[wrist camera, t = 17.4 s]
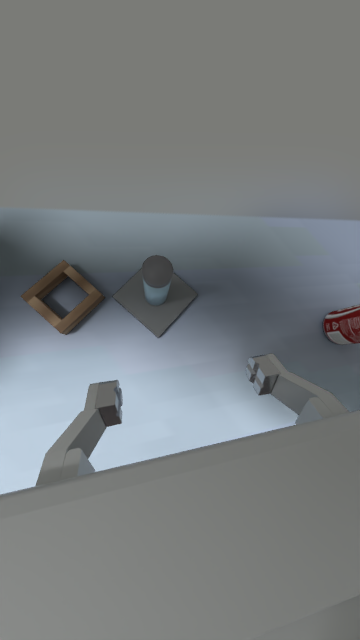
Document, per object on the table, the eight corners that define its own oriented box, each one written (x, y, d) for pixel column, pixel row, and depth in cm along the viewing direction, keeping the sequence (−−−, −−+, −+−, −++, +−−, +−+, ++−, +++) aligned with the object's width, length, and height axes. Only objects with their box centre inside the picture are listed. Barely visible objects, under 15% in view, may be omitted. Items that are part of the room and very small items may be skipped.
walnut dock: (28, 299, 34) (20, 296, 32) (68, 265, 36) (63, 259, 34) (66, 334, 34) (60, 333, 32) (105, 297, 36) (102, 294, 34)
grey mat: (113, 297, 36) (112, 296, 35) (154, 257, 39) (154, 255, 38) (158, 337, 36) (158, 337, 35) (197, 295, 38) (197, 294, 37)
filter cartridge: (140, 295, 36) (135, 270, 25) (155, 280, 37) (156, 249, 26) (156, 310, 36) (159, 290, 25) (171, 294, 37) (179, 269, 26)
